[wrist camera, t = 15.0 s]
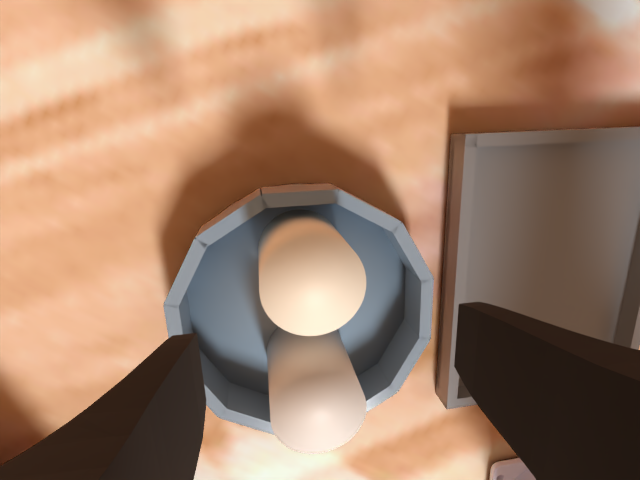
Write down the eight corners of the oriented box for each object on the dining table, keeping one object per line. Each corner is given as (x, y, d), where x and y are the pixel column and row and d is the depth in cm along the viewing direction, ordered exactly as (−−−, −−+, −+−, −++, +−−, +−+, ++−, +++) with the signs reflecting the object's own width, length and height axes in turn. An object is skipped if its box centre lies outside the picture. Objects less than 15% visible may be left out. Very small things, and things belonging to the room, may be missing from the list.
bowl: (407, 383, 23) (426, 413, 20) (195, 412, 21) (187, 450, 18) (415, 176, 19) (438, 183, 17) (161, 191, 17) (146, 201, 15)
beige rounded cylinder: (340, 284, 19) (365, 330, 15) (261, 291, 19) (262, 341, 14) (339, 207, 18) (366, 231, 14) (255, 211, 18) (255, 238, 13)
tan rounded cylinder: (341, 377, 21) (365, 446, 16) (268, 386, 20) (273, 460, 16) (341, 312, 20) (367, 366, 15) (264, 319, 19) (267, 377, 15)
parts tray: (611, 367, 25) (631, 380, 24) (435, 393, 23) (446, 409, 22) (661, 125, 21) (689, 124, 19) (450, 133, 19) (465, 134, 18)
